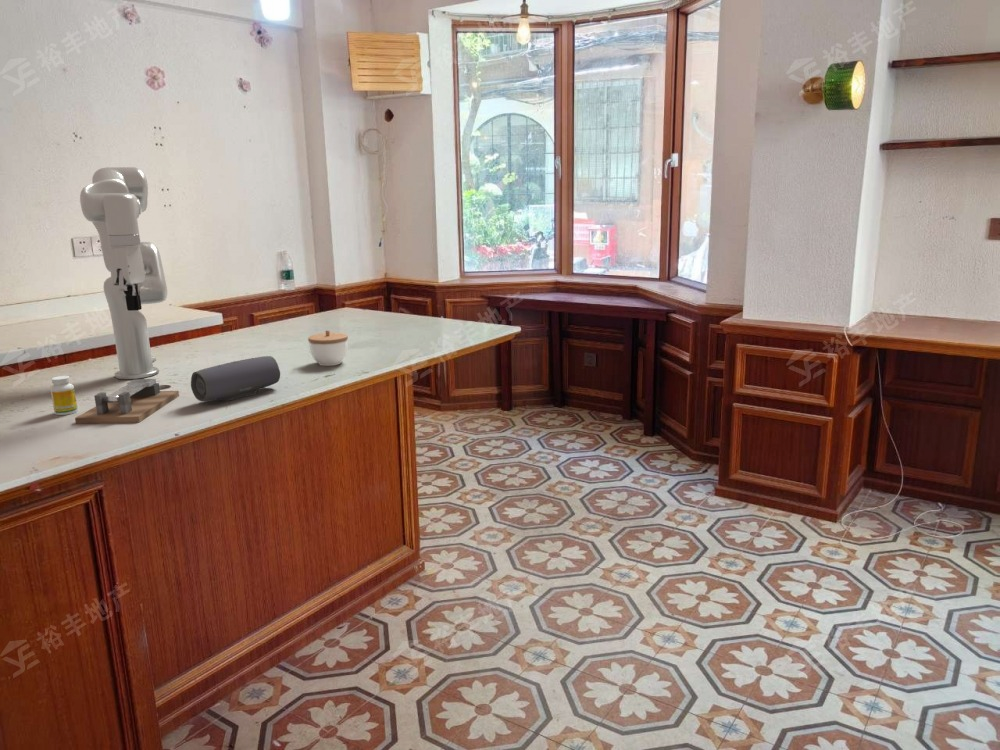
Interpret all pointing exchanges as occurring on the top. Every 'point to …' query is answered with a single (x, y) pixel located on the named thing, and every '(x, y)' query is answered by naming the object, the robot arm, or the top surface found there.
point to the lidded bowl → (328, 348)
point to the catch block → (148, 391)
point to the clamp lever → (129, 389)
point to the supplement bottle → (63, 396)
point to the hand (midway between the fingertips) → (134, 309)
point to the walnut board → (125, 408)
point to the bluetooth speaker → (234, 379)
